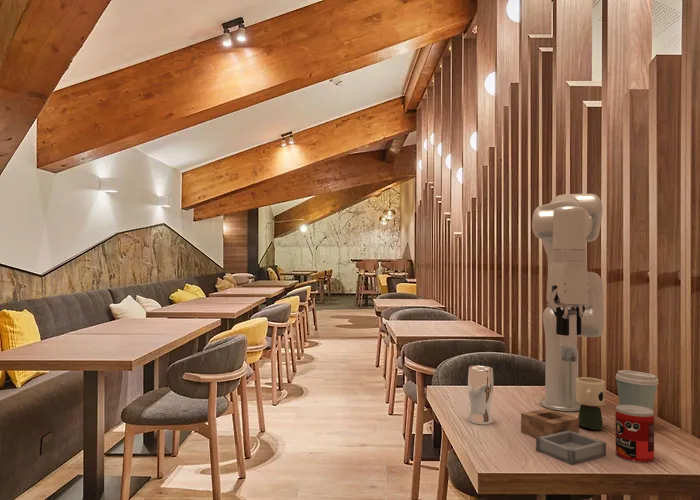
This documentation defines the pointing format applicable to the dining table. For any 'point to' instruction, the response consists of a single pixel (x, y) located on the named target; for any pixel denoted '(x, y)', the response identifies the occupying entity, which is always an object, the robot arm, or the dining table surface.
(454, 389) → the dining table surface
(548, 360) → the robot arm
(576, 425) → the block
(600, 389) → the character mug
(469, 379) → the beer glass
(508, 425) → the dining table surface
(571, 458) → the tray
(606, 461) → the dining table surface
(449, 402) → the dining table surface
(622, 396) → the disposable coffee cup
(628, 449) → the canned food
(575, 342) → the pin
